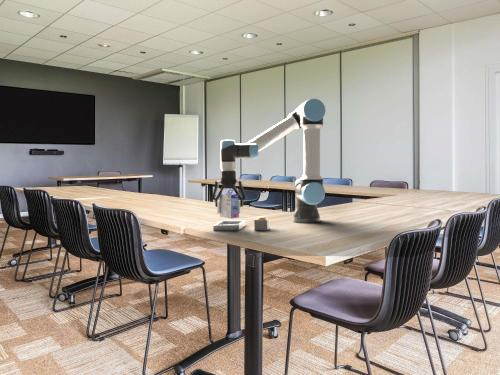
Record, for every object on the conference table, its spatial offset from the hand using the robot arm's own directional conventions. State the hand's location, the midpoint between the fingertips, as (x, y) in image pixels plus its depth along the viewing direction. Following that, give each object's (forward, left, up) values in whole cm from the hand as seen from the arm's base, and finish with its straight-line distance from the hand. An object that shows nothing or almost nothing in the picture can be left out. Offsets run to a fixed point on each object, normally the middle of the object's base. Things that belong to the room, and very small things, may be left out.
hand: (229, 213), depth 210 cm
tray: (0, 0, -7) cm, 7 cm away
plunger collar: (-18, +5, -7) cm, 20 cm away
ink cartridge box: (0, 0, -2) cm, 2 cm away
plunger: (-18, +5, -7) cm, 19 cm away
